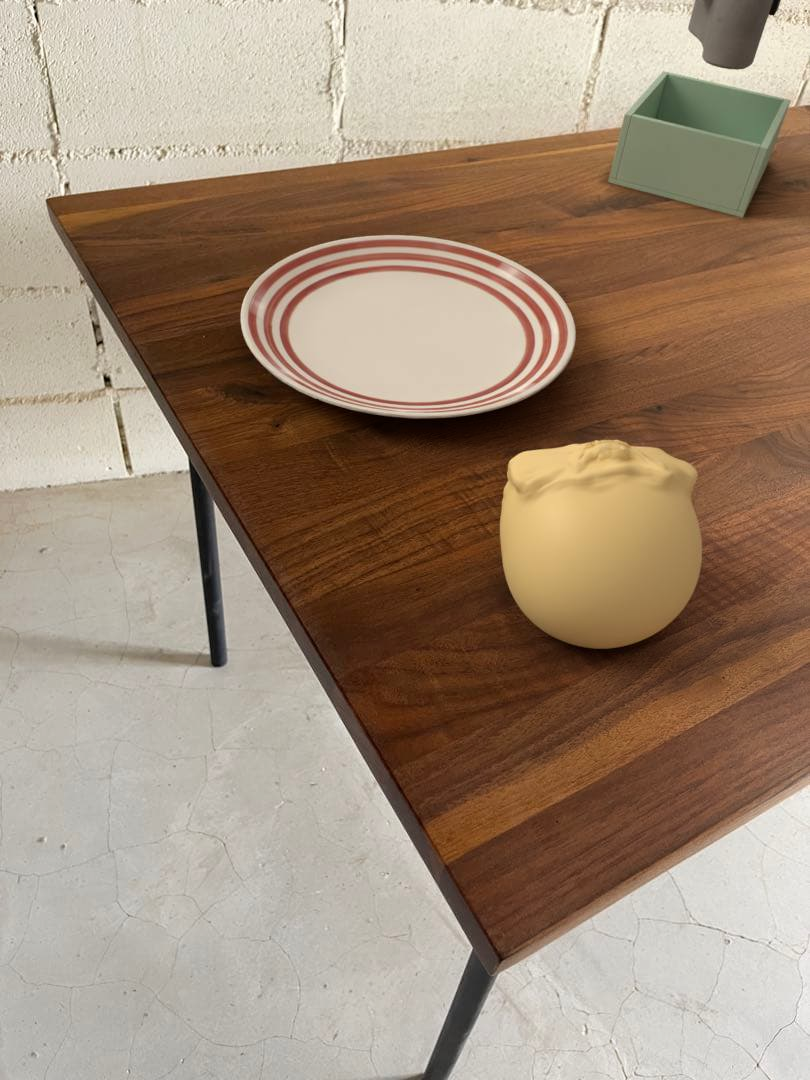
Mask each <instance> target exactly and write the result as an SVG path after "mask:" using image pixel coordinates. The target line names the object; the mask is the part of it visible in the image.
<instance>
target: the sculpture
mask: <svg viewBox="0 0 810 1080" xmlns="http://www.w3.org/2000/svg"><path fill="white" fill-rule="evenodd" d="M506 477H507V482H506V484H505V485H504V488H503V492H502V495H503V497H502V500H501V512H500V519H499V540H500V550H501V551H500V552H501V560H502V566H503V567H502V568H503V573H504V577H505V580H506V583H507V585H508V588H509V589H508V590H509V591H510V594H511V595H512V597H513V599H514V601H515V604H517V606H518V607H519V609H520V610H521V612H522V613H523V614H524V616H526V617H527V618H528V620H530V621H531V623H532V624H534V626H536V627H537V628H538V629H540V630H541V631H542V632H544V633H546V634H547V635H548V636H551V637H553V638H554V639H557V640H558V641H562V642H564V643H566V644H569V645H573V646H577V647H582V648H586V649H596V650H597V649H598V650H599V649H600V650H607V649H616V648H621V647H626V646H630V645H634V644H636V643H638V642H641V641H643V640H646V639H648V638H650V637H652V636H654V635H656V634H657V633H658V632H660V631H662V630H663V629H664V628H666V627H667V626H668V625H669V624H671V623H672V622H673V621H674V620H675V619H676V618H677V617H678V616H679V615H680V614H681V612H682V611H683V610H684V609H685V607H686V606H687V604H688V603H689V601H690V600H691V597H692V596H693V594H694V591H695V589H696V587H697V584H698V581H699V577H700V573H701V568H702V560H703V540H702V533H701V528H700V523H699V519H698V517H697V514H696V511H695V508H694V505H693V501H692V494H693V489H694V487H695V485H696V482H697V480H698V478H699V474H698V471H697V469H696V468H695V466H693V465H692V464H691V463H690V462H687V461H685V460H683V459H679V458H676V457H674V456H671V455H670V454H669V453H667V452H666V451H664V450H663V449H661V448H659V447H653V446H652V447H651V446H638V445H637V446H634V445H630V444H629V443H628V442H626V441H623V440H622V441H621V440H620V439H601V440H598V439H595V440H593V441H588V442H584V443H571V444H567V445H564V446H560V447H552V448H541V449H533V450H531V449H530V450H526V451H522V452H520V453H518V454H517V455H515V456H514V457H512V458H511V459H510V460H509V461H508V464H507V472H506Z"/></svg>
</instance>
